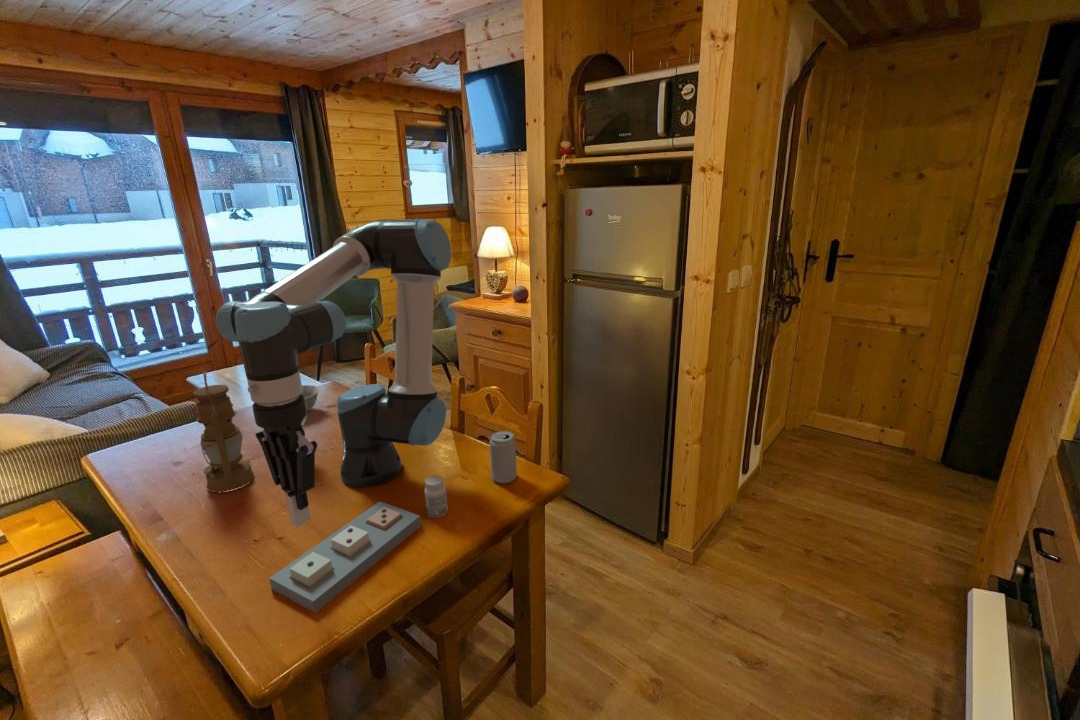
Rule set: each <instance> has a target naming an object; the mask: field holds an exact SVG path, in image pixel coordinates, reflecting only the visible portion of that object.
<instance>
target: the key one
mask: <svg viewBox="0 0 1080 720" xmlns="http://www.w3.org/2000/svg"><path fill="white" fill-rule="evenodd" d="M289 569H290V573H291V578H292V580H294V581H296V582H298V583H300V584H302V585H303V586H305V587H307V588H310V587H312V586H313V585H314V584H316V583H317V582H318V581H320V580H321V579H322V578H323V577H325V576H326V575H327V574H329V573H330V572H331V571H333V568H332V562H331V560H330V559H328V558H325V557H323V556H321V555H319V554H317V553H315V552H312V553H311V554H309V555H308V556H306V557H305V558H304V559H302V560H301V561H299V562H298V563H297V564H295V565H294V566H292V567H291V568H289Z"/></svg>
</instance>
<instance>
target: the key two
mask: <svg viewBox="0 0 1080 720" xmlns="http://www.w3.org/2000/svg"><path fill="white" fill-rule="evenodd" d="M369 542H370V540H369V533H368V532H366V531H364V530H361V529H359V528H356V527H354V526H352V525H351V526H349V527H348V528H346V529H345V530H343V531H342V532H341V533H339V534H338V535H336V536H335V537H333V538H332V539H331V544H332V550H335V551H337V552H339V553H341V554H343V555H346V556H348V557H351V556H352V555H353V554H355V553H356V552H357V551H359V550H360V549H361V548H362V547H364V546H365V545H366V544H368V543H369Z"/></svg>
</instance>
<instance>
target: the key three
mask: <svg viewBox="0 0 1080 720" xmlns="http://www.w3.org/2000/svg"><path fill="white" fill-rule="evenodd" d="M400 518H401V513H399V512H396V511H394V510H391V509H388V508H385V507H383V508H382V509H381V510H379V511H378V512H376V513H375V514H374V515H372V516H371V517H369V518H368V519H367V524H369V525H371V526H374V527H376V528H379V529H381V530H384V531H385V530H386V529H387V528H388V527H390V526H391V525H392V524H394V523H395V522H396V521H398V520H399V519H400Z"/></svg>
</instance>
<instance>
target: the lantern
mask: <svg viewBox="0 0 1080 720" xmlns="http://www.w3.org/2000/svg"><path fill="white" fill-rule="evenodd" d="M202 373H203V374H202V375H203V379H204V386H203V387H200V388H197V389H195V390H194V391H193V392H192V393H193V397H194V398H196V399H197V401H196V409H197V410H196V411H195V412H196V414H197V415H198V417H197V418H196V422H197V423H198V424H201V425H203V426H204V430H203V433H202V434H200V447H201V452H202V454H203V456H204V459H205V460H206V463H207V464H208V465H207V466H206V467H205V468H204V469H203V474H205V478H206V489H207V488H208V489H209V490H211V491H215V492H219V491H220V492H223V491H227V490H231V489H235V488H238V487H241V486H243V485H245V484H247V483H248V482H250V481H251V480H252V479H253V480H254V478H255V473H254V471H253V470H252V466H251V462H249V461H247V460H243V457H244V456H243V453H241V452H242V445H243V434H242V433H243V432H241V430H240V427H239V426H237V425H236V424H234V423H233V418H234V417H235V416H236V415H237V414H238V413H237V410H234V404H233V403H232V401H231V398H230V396H229V395H228V394H227V393H228V392H229V390H230V389H229V386H228V385H227V384H212V385H208V383H207V371H205V370H203V372H202ZM206 456H207V457H206ZM207 458H208V459H209V461H208V460H207ZM253 477H254V478H253ZM208 489H207V490H208Z"/></svg>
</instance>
